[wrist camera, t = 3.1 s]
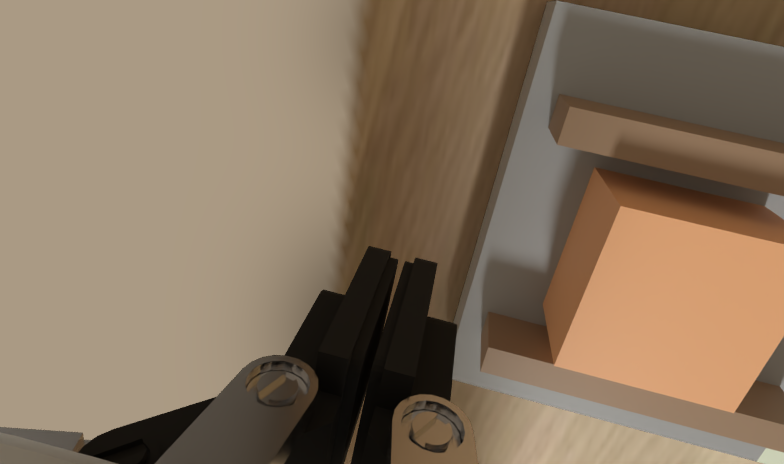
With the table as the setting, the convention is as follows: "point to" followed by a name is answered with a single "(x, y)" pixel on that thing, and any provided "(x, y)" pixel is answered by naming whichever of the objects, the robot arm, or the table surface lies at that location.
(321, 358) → the robot arm
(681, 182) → the compartment tray
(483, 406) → the table surface
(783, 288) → the block
